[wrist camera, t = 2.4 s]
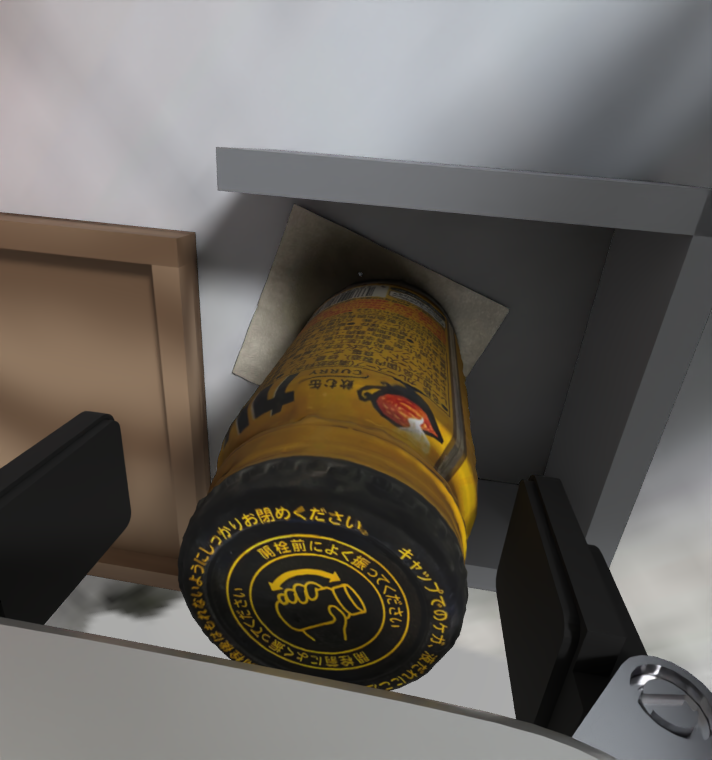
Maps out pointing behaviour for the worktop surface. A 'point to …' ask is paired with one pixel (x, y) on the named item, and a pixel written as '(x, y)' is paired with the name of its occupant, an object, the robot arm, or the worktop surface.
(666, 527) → the worktop surface
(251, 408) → the condiment
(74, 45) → the worktop surface
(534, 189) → the bay
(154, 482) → the tray
